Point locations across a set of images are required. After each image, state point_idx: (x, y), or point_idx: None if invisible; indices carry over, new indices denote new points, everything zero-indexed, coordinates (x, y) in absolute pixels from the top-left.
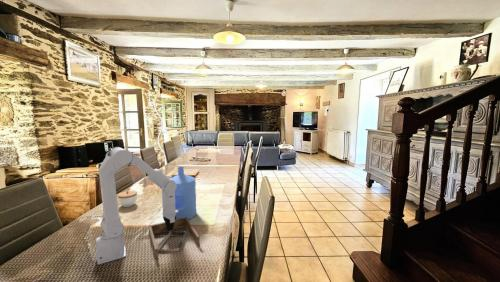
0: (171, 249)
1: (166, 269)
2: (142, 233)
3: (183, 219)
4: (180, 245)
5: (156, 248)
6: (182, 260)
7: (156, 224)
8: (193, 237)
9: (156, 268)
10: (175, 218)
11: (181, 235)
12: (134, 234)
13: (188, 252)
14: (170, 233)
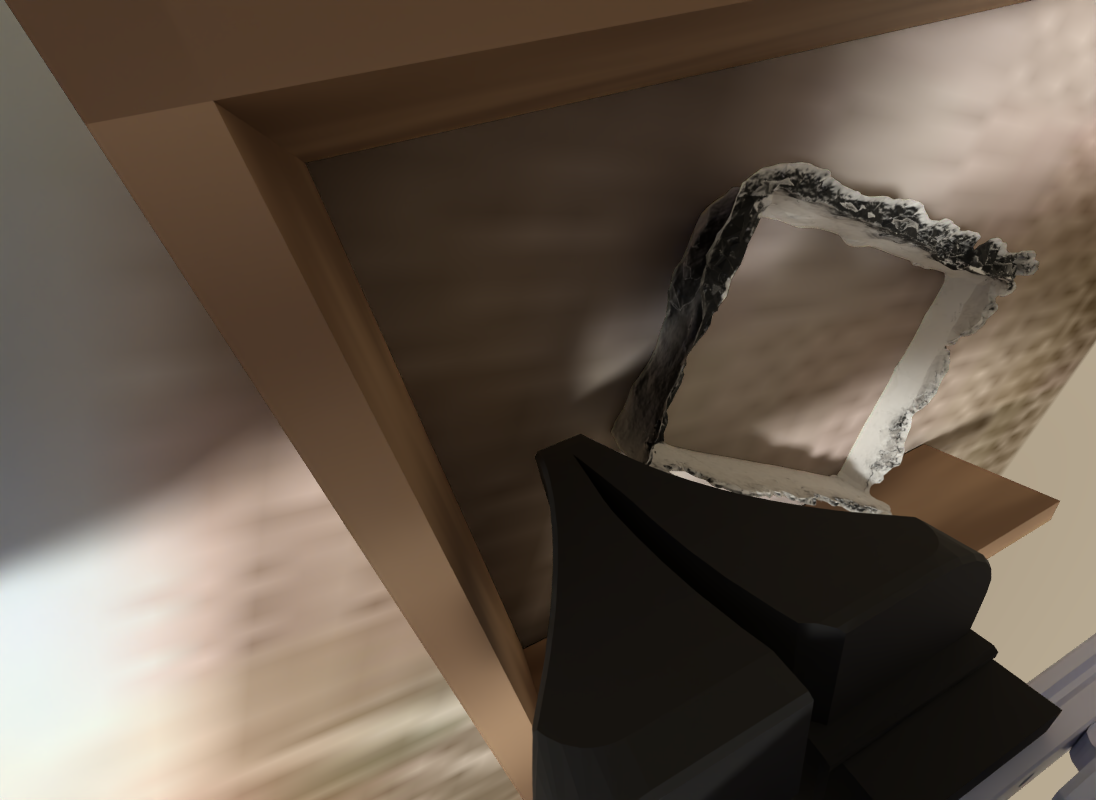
0: (943, 360)
1: (1045, 357)
2: (455, 745)
3: (274, 194)
4: (1010, 261)
5: (1051, 512)
6: (1066, 233)
7: None
8: (947, 10)
9: (992, 427)
10: (972, 554)
11: (684, 255)
12: (459, 793)
13: (1031, 159)
14: (624, 443)
